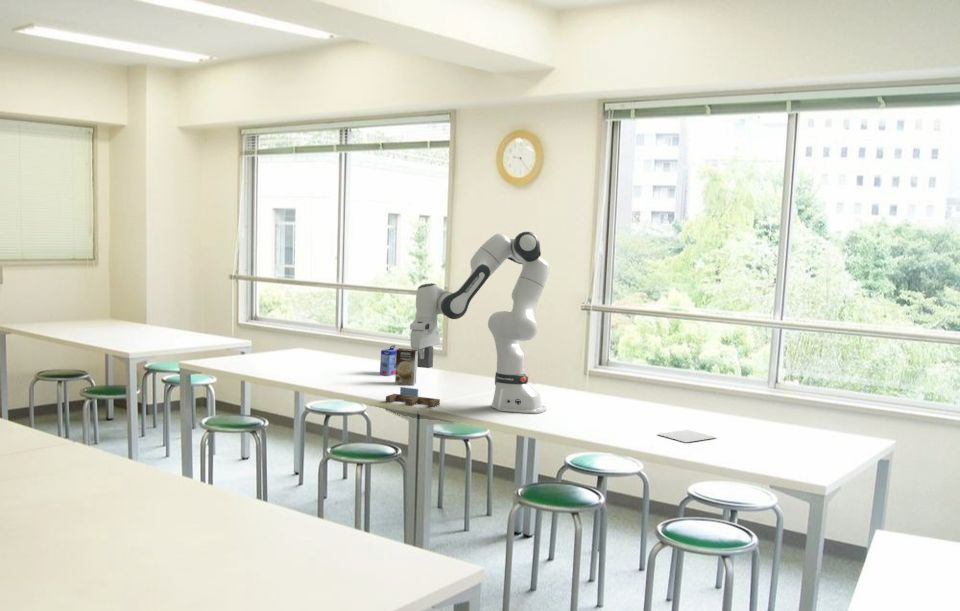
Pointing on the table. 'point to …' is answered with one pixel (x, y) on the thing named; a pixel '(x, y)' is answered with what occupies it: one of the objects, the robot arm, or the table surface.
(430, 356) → the plug
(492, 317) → the robot arm
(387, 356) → the ink cartridge box
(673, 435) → the paper stack
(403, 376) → the coffee box
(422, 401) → the brown frame
